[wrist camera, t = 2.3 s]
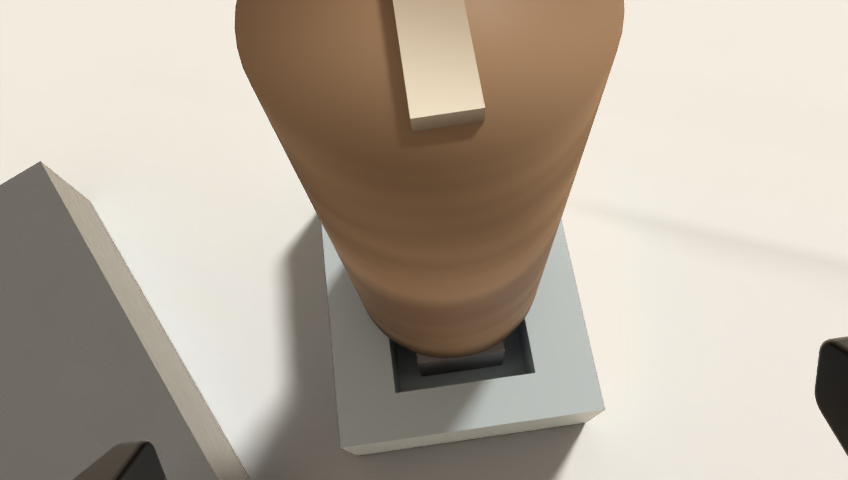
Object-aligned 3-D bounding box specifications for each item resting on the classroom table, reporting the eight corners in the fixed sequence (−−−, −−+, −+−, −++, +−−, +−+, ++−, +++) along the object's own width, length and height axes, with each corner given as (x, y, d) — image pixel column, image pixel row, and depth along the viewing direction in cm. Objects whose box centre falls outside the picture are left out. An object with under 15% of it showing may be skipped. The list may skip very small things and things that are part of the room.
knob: (547, 358, 20) (678, 124, 8) (375, 383, 20) (232, 189, 8) (515, 202, 22) (579, -184, 10) (359, 225, 22) (222, -132, 10)
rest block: (586, 422, 20) (605, 409, 18) (357, 455, 20) (340, 447, 18) (529, 162, 24) (537, 116, 21) (332, 191, 24) (315, 149, 21)
